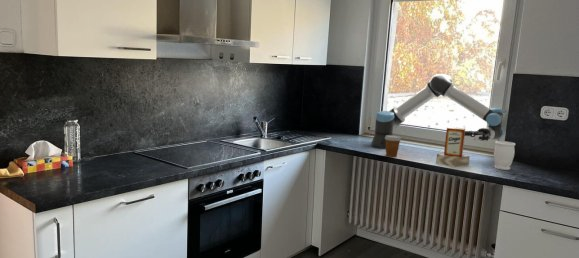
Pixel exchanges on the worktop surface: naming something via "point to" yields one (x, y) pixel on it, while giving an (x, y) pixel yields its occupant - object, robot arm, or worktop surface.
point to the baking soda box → (454, 141)
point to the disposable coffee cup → (392, 145)
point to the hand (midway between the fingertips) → (464, 136)
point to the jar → (503, 154)
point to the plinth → (452, 160)
